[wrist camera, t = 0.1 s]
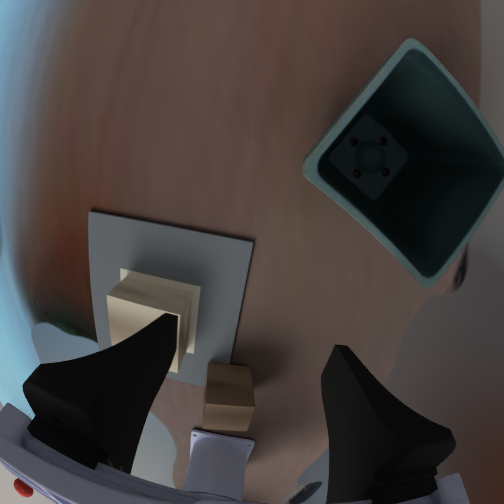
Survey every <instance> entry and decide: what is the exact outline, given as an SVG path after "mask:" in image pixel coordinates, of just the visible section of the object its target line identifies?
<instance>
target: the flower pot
mask: <svg viewBox="0 0 504 504" xmlns="http://www.w3.org/2000/svg"><path fill="white" fill-rule="evenodd" d="M352 138H355V139H356V141H357V144H356V145H355V146H353V145H351V144H350V139H352ZM380 138H383V139H384V140H385V144H384V145H381V144H380V142H379V139H380ZM383 169H387V171H388V174H387V175H386V176H384V175H383V174H382V170H383ZM355 170H358V171H359V172H360V175H359V176H358V177H355V176H354V175H353V172H354V171H355ZM302 172H303V174H304V176H305V178H306V179H307V180H308V181H310V182H311V183H312V184H313V185H314V186H315V187H317V188H318V189H319V190H321V191H322V192H323V193H325V194H326V195H327V196H328V197H329V198H331V199H332V200H333V201H334V202H335V203H337V204H338V205H339V206H340V207H341V208H342V209H344V210H345V211H346V212H347V213H348V214H349V215H351V216H352V217H353V218H354V219H355V220H356V221H358V222H359V223H360V224H361V225H362V226H363V227H364V228H365V229H366V230H367V231H369V232H370V233H371V234H372V235H373V236H374V237H375V238H376V239H377V240H378V241H379V242H380V243H381V244H382V245H383V246H384V247H385V248H386V249H387V250H388V251H389V252H390V253H391V254H392V255H393V256H394V257H395V258H396V259H397V260H398V261H399V262H400V263H401V264H402V265H403V266H404V267H405V268H406V270H407V271H408V272H409V273H410V274H411V275H412V276H413V277H414V278H415V280H416V281H417V282H418V283H419V284H420V285H421V286H423V287H425V288H430V287H432V286H433V285H434V284H435V283H436V282H437V281H438V280H439V279H440V277H441V276H442V275H443V274H444V273H445V271H446V270H447V269H448V268H449V266H450V265H451V264H452V263H453V261H454V260H455V258H456V257H457V256H458V255H459V253H460V252H461V251H462V249H463V248H464V246H465V245H466V244H467V242H468V241H469V239H470V238H471V237H472V235H473V234H474V232H475V231H476V230H477V228H478V227H479V225H480V224H481V222H482V220H483V219H484V217H485V216H486V214H487V212H488V211H489V209H490V208H491V206H492V205H493V204H494V202H495V201H496V199H497V197H498V196H499V194H500V192H501V191H502V189H503V187H504V148H503V146H502V144H501V143H500V141H499V140H498V138H497V136H496V135H495V133H494V132H493V130H492V128H491V127H490V125H489V124H488V123H487V121H486V119H485V118H484V116H483V115H482V113H481V112H480V111H479V109H478V108H477V106H476V105H475V104H474V102H473V101H472V100H471V98H470V97H469V96H468V94H467V93H466V92H465V91H464V89H463V88H462V87H461V86H460V84H459V83H458V82H457V81H456V79H455V78H454V77H453V76H452V75H451V73H450V72H449V71H448V70H447V69H446V68H445V67H444V66H443V65H442V63H441V62H440V61H439V60H438V59H437V58H436V57H435V56H434V55H433V54H432V53H431V52H430V51H429V50H428V49H427V48H426V47H425V46H424V45H423V44H421V43H420V42H419V41H418V40H416V39H414V38H409V39H406V40H405V41H404V42H403V43H402V44H401V45H400V46H399V48H398V49H397V50H396V51H395V52H394V53H393V54H392V55H391V56H390V57H389V58H388V59H387V60H386V61H385V62H384V63H383V64H382V66H381V67H380V68H379V69H378V70H377V71H376V72H375V73H374V75H373V76H372V77H371V78H370V79H369V81H368V82H367V83H366V84H365V85H364V87H363V88H362V89H361V90H360V91H359V93H358V94H357V95H356V96H355V97H354V99H353V100H352V101H351V102H350V103H349V105H348V106H347V107H346V108H345V109H344V111H343V112H342V113H341V114H340V115H339V117H338V118H337V119H336V120H335V121H334V123H333V124H332V125H331V126H330V127H329V129H328V130H327V131H326V132H325V134H324V135H323V136H322V137H321V138H320V140H319V141H318V142H317V143H316V144H315V146H314V147H313V148H312V149H311V150H310V152H309V153H308V154H307V155H306V157H305V158H304V160H303V165H302Z"/></svg>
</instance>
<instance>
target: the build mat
mask: <svg viewBox="0 0 504 504" xmlns="http://www.w3.org/2000/svg"><path fill="white" fill-rule="evenodd" d="M88 231H89V264H90V280H91V292H92V302H93V311H94V319H95V326H96V333H97V339H98V345H99V351H102V350H104V349H107V348H109V347H111V346H112V343H111V335H110V326H109V317H108V306H107V294H108V293H109V292H110V291H111V290H112V289H113V288H114V287H115V286H116V285H117V284H118V283H119V282H120V281H122V280H123V279H124V278H125V277H126V276H129V277H133V278H137V279H141V280H145V281H149V282H153V283H157V284H161V285H165V286H169V287H174V288H178V289H182V290H187V291H191V292H193V294H192V304H191V315H190V326H189V339H188V349H187V351H186V354H185V356H184V358H183V361H182V363H181V366H180V368H179V371H178V373H175V372H171V371H168V373H167V375H166V378H170V379H174V380H178V381H181V382H185V383H189V384H193V385H198V386H202V387H205V381H206V373H207V365H208V362H210V363H219V364H230V359H231V354H232V348H233V343H234V338H235V333H236V328H237V323H238V318H239V313H240V308H241V303H242V298H243V293H244V288H245V282H246V277H247V272H248V267H249V262H250V257H251V252H252V247H253V241H247V240H242V239H237V238H232V237H227V236H222V235H217V234H212V233H206V232H201V231H196V230H191V229H186V228H180V227H175V226H170V225H165V224H159V223H154V222H149V221H143V220H138V219H133V218H127V217H122V216H116V215H111V214H105V213H100V212H94V211H89V223H88Z"/></svg>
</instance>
